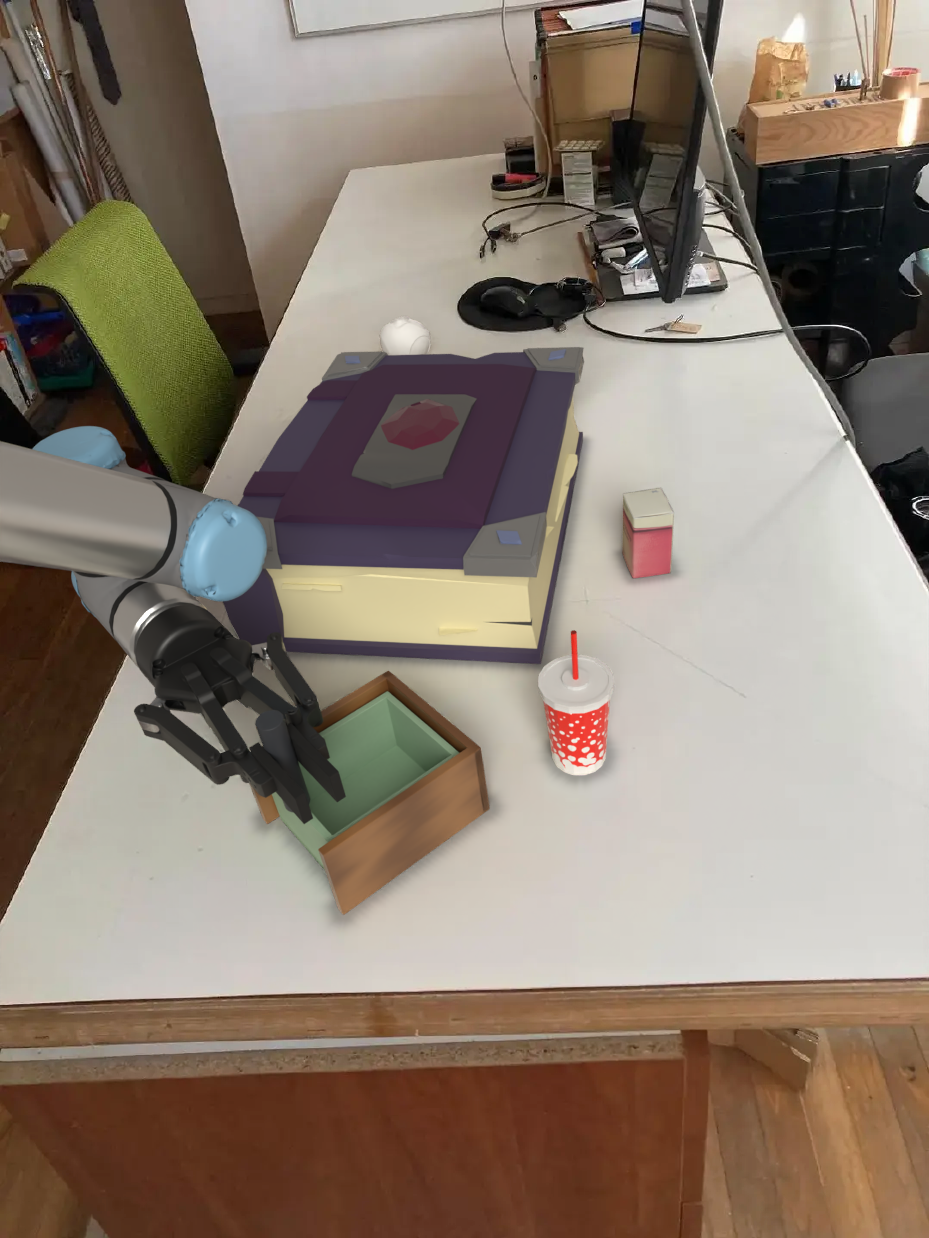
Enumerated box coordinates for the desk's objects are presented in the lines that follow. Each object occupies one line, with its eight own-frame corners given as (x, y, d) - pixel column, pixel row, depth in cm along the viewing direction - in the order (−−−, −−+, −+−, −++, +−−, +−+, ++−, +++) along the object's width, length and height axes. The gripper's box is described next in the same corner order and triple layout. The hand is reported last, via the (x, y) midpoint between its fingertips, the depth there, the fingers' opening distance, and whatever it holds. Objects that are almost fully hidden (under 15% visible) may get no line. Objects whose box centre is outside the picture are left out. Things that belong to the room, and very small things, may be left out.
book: (225, 651, 96) (185, 540, 87) (347, 437, 130) (327, 341, 121) (545, 667, 89) (536, 548, 80) (587, 436, 123) (584, 334, 114)
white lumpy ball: (438, 354, 148) (432, 306, 143) (426, 375, 143) (419, 326, 138) (391, 354, 150) (383, 307, 145) (377, 375, 144) (368, 327, 140)
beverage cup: (608, 787, 77) (607, 663, 68) (536, 777, 79) (525, 654, 70) (619, 733, 81) (619, 610, 73) (551, 725, 83) (542, 603, 74)
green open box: (339, 901, 71) (293, 767, 61) (273, 824, 78) (223, 691, 68) (470, 807, 77) (448, 670, 67) (399, 742, 83) (369, 609, 74)
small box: (621, 553, 102) (621, 491, 97) (659, 547, 102) (661, 485, 97) (632, 580, 98) (632, 518, 93) (672, 574, 98) (675, 511, 93)
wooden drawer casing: (343, 915, 70) (323, 855, 66) (262, 819, 78) (239, 759, 74) (490, 809, 77) (481, 747, 72) (401, 730, 85) (388, 669, 80)
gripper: (263, 632, 85) (416, 774, 69) (107, 717, 78) (239, 894, 63) (242, 566, 80) (401, 703, 65) (74, 650, 73) (207, 825, 58)
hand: (321, 797), depth 64 cm, fingers closed on green open box, 2 cm apart
